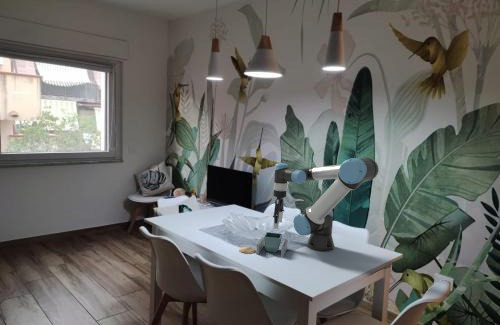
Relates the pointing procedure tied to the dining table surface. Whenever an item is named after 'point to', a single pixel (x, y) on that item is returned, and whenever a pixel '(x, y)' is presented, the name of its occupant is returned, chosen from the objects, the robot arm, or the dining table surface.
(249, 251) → the cork mat
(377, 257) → the dining table surface
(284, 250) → the grey holder
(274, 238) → the flower pot
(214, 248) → the dining table surface
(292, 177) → the robot arm
